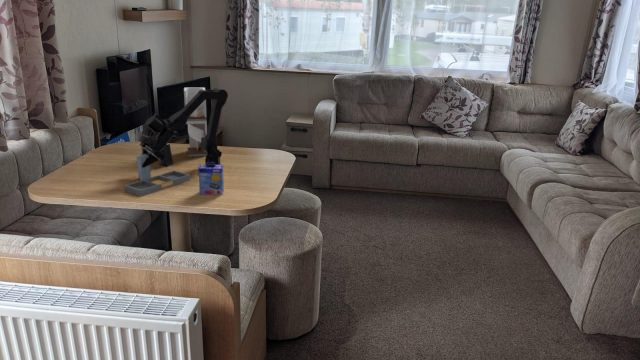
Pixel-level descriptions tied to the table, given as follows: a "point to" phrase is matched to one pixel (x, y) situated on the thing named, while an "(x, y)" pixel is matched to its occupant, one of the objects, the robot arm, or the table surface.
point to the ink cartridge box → (211, 179)
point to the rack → (157, 183)
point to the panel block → (142, 172)
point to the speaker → (167, 156)
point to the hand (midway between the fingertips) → (140, 165)
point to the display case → (196, 123)
